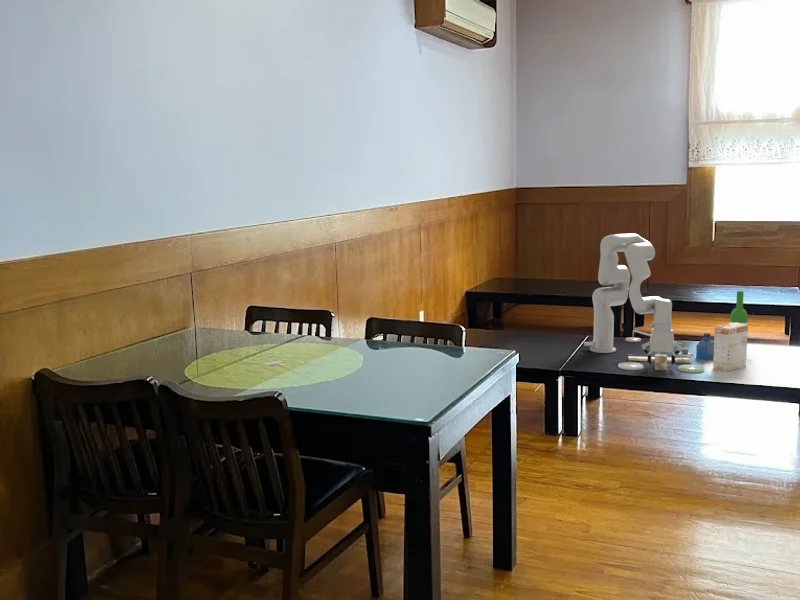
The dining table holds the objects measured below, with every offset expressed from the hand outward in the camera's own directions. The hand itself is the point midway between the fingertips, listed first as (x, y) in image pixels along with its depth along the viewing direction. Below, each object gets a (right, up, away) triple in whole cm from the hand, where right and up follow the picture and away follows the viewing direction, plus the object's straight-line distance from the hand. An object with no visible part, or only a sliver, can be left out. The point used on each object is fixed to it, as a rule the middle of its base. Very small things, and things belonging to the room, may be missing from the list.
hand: (661, 364), depth 360 cm
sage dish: (+13, -2, -3) cm, 13 cm away
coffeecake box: (+31, -2, 0) cm, 31 cm away
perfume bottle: (+27, +1, +17) cm, 32 cm away
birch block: (0, -2, +1) cm, 2 cm away
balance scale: (+4, 0, +15) cm, 15 cm away
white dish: (-13, -2, +4) cm, 13 cm away
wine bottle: (+46, +3, +28) cm, 54 cm away
